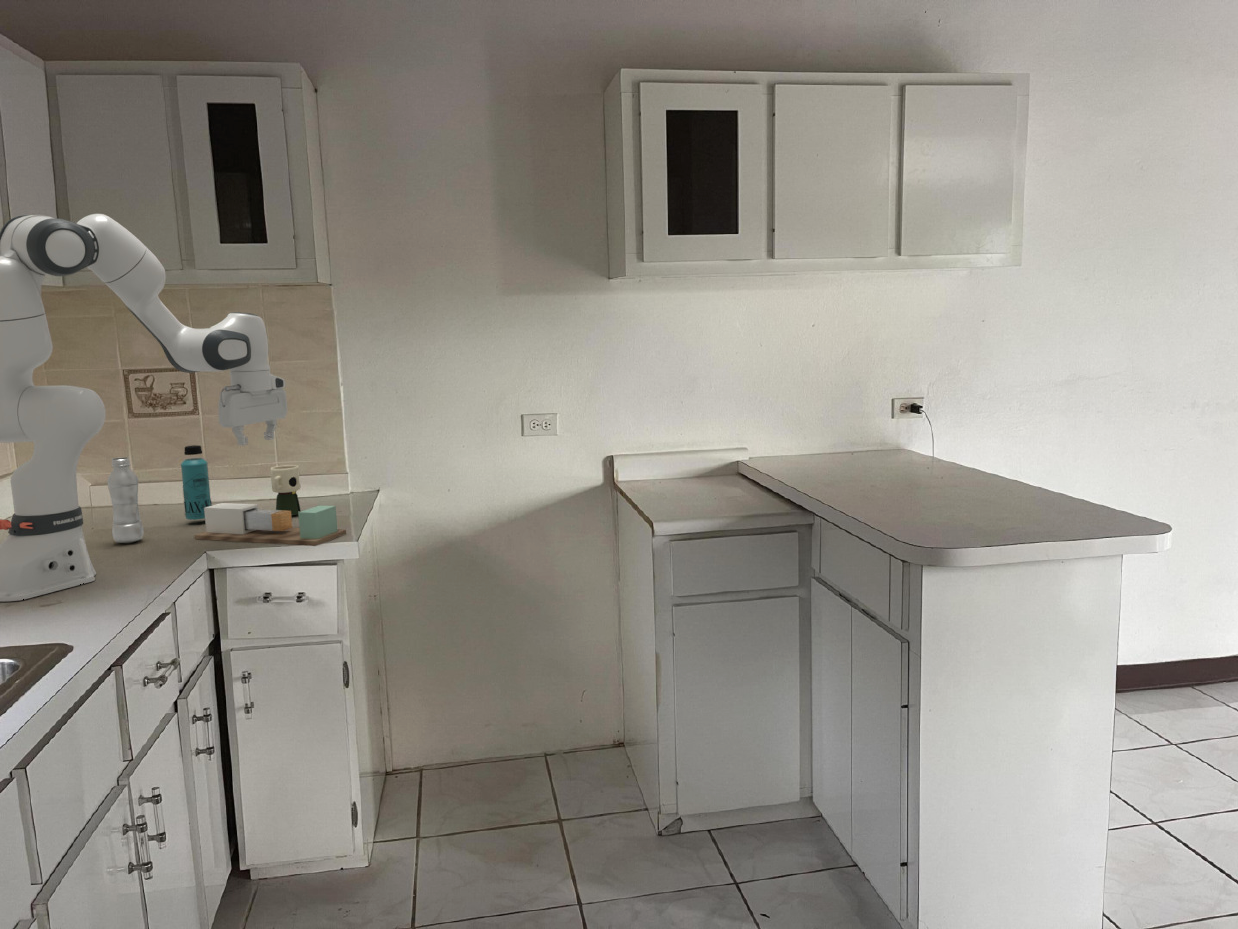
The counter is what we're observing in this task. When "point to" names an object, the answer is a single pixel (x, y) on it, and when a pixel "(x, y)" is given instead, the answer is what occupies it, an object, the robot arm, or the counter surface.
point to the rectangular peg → (267, 519)
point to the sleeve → (227, 518)
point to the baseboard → (270, 537)
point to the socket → (317, 522)
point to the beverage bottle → (195, 484)
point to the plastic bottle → (124, 502)
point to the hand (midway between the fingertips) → (256, 442)
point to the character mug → (286, 487)
